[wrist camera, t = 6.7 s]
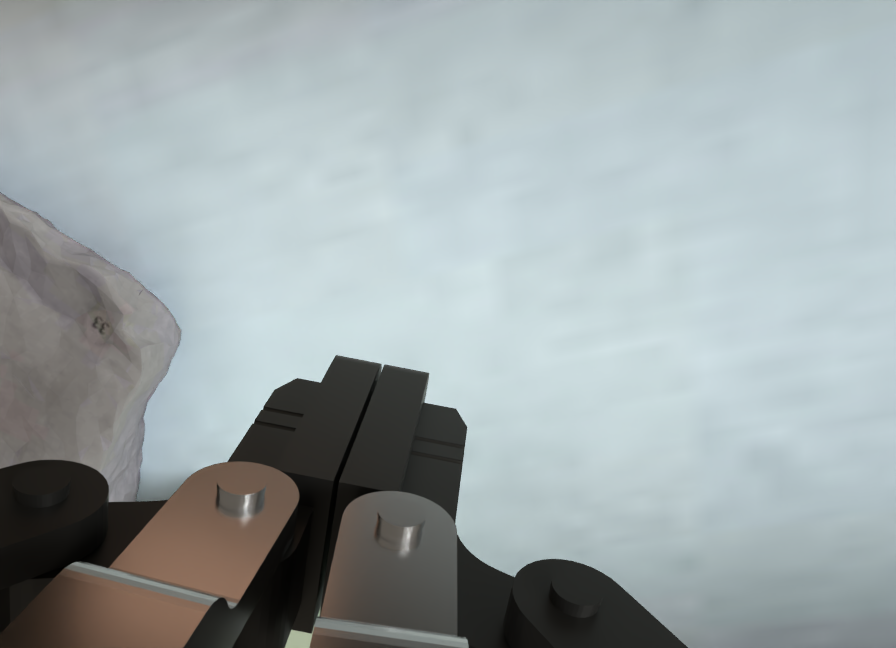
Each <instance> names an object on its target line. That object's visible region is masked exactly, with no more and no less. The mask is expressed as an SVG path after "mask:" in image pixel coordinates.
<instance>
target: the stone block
mask: <svg viewBox="0 0 896 648" xmlns="http://www.w3.org/2000/svg"><path fill="white" fill-rule="evenodd" d="M180 339H181V330H180V328H179V326H178V325H177V323H176V321H175V318H174V317H173V315H172V314H171V312H170V311H169V310H168V308H167V307H166V306H165V305H164V303H162V302H161V301H160V300H159V299H158V298H157V297H156V296H155V295H154V294H152V293H151V292H149V291H148V290H147V289H146V288H145V287H144V286H143V285H142V284H140V283H139V282H138V281H137V280H136V279H135V278H134V277H133V276H132V275H131V274H130V273H129V272H127V271H124V270H121V269H119V268H117V267H116V266H114V265H113V264H111V263H110V262H108V261H107V260H105V259H103V258H102V257H101V256H99V255H98V254H97V253H95V252H94V251H92V250H91V249H89V248H87V247H85V246H83V245H81V244H79V243H77V242H76V241H74V240H73V239H71V238H69V237H68V236H66V235H64V234H63V233H61V232H59V231H58V230H57V229H56V228H55V227H54V225H53V224H52V223H51V222H50V221H49V220H46V219H43V218H42V217H41V216H40V215H39V214H38V213H37V212H34V211H31V210H28V209H26V208H25V207H23V206H22V205H20V204H18V203H16V202H15V201H13V200H11V199H9V198H8V197H6V196H5V195H3V194H2V193H1V192H0V469H1V468H4V467H8V466H12V465H16V464H20V463H24V462H29V461H37V460H66V461H73V462H77V463H82V464H84V465H87V466H90V467H92V468H94V469H95V470H97V471H98V472H100V473H101V474H102V475H103V476H104V477H105V479H106V480H107V482H108V485H109V502H135V501H136V497H137V492H138V487H139V481H140V466H141V463H142V445H143V441H144V433H145V423H144V419H143V417H144V413H145V410H146V406H147V402H148V400H149V399H150V397H151V396H152V394H153V393H154V392H155V390H156V388H157V386H158V385H159V383H160V382H161V381H162V380H163V378H164V377H165V376H166V374H167V372H168V369H169V366H170V363H171V360H172V359H173V357H174V355H175V353H176V350H177V348H178V346H179V343H180Z"/></svg>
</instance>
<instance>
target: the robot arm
mask: <svg viewBox="0 0 896 648" xmlns="http://www.w3.org/2000/svg"><path fill="white" fill-rule="evenodd" d="M381 368H382V366H381V364H379V363H374V362H369V361H364V360H358V359H353V358H348V357H343V356H338V355H336V356H335V358H334V360H333V361H332V363H331V365H330V367H329V369H328V371H327V372H326V374H325V376H324V378H323V380H322V382H321V383H319V382H314V381H309V380H304V379H298V378H297V379H295V380H293V381H291V382H289V383H287V384H285V385H283V386H281V387H279V388H277V389H276V390H274V392H273V393H272V395H271V396H270V398H269V399H268V401H267V402H266V404H265V405H264V408H263V410H261V411H260V413H259V415H258V416H257V418H256V419H255V422H254V424H252V425H251V427H250V428H249V430H248V431H247V433H246V434H245V436H244V437H243V439H242V440H241V442H240V444H239V445H238V447H237V448H236V450H235V451H234V453H233V454H232V456H231V457H230V459H229V460H228V462H224V463H219V464H214V465H211V466H208V467H205V468H203V469H201V470H198V471H197V472H195V473H194V474H192V475H191V476H190V477H189V478H188V479H187V480H186V481H185V482H184V483H183V484H182V485H181V486H180V487H179V489H178V490H177V491H176V492H175V493H174V494H173V495H172V497H171V498H170V499H169V500H163V501H149V502H109V485H108V482H107V480H106V479H105V477H104V476H103V475H102V474H101V473H100V472H98V471H97V470H95V469H94V468H92V467H90V466H87V465H84V464H82V463H77V462H73V461H66V460H37V461H29V462H24V463H20V464H16V465H12V466H8V467H4V468H1V469H0V648H285V646H286V643H287V640H288V638H289V635H290V632H291V630H295V631H300V632H305V633H310V634H312V631H313V634H312V639H311V643H310V647H309V648H688V647H687V646H686V645H684V644H683V643H682V642H681V641H680V640H679V639H678V638H677V637H676V636H675V635H673V634H672V633H671V632H670V631H669V630H668V629H667V628H666V627H665V626H664V625H662V624H661V623H660V622H659V621H658V620H657V619H656V618H655V617H654V616H653V615H651V614H650V613H649V612H648V611H647V610H646V609H645V608H644V607H643V606H642V605H640V604H639V603H638V602H637V601H636V600H635V599H634V598H633V597H632V596H631V595H629V594H628V593H627V592H626V591H625V590H624V589H623V588H622V587H621V586H619V585H618V584H617V583H616V582H615V581H613V580H612V579H611V578H610V577H608V576H606V575H605V574H603V573H602V572H600V571H598V570H596V569H594V568H592V567H589V566H586V565H584V564H581V563H577V562H574V561H568V560H562V559H546V560H540V561H535V562H533V563H530V564H528V565H526V566H525V567H523V568H522V569H521V570H520V571H519V572H518V573H517V574H516V576H515V577H512V576H510V575H508V574H506V573H503V572H501V571H499V570H497V569H495V568H493V567H490V566H488V565H487V564H485V563H484V562H482V561H480V560H479V559H478V558H476V557H475V556H474V555H473V554H471V553H470V552H469V551H468V549H467V548H466V547H465V546H464V545H463V543H462V542H461V541H460V539H459V537H458V535H457V530H456V525H455V519H456V511H457V503H458V496H459V488H460V480H461V472H462V463H463V456H464V447H465V440H466V432H467V426H466V425H465V423H464V421H463V420H462V418H461V416H460V415H459V413H458V411H457V410H456V409H454V408H448V407H443V406H438V405H433V404H428V403H424V401H425V396H426V390H427V385H428V379H429V373H426V372H421V371H416V370H411V369H406V368H400V367H395V366H390V365H384V367H383V369H382V372H381ZM320 607H321V609H320ZM319 610H320V616H318V613H319ZM314 625H315V626H314ZM313 628H314V630H313Z"/></svg>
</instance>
